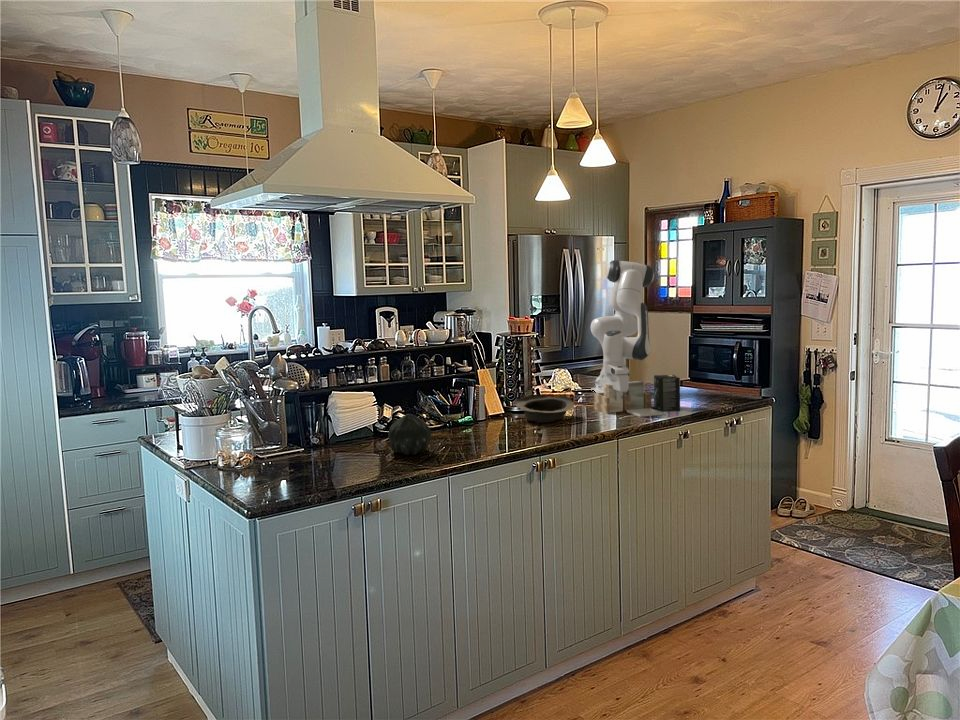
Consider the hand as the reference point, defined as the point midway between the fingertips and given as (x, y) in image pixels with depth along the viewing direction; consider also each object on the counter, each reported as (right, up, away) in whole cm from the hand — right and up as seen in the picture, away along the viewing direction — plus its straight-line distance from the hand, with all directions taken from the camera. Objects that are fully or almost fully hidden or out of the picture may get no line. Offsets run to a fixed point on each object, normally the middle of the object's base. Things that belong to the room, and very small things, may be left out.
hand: (613, 399), depth 318 cm
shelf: (+4, -5, +4) cm, 7 cm away
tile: (+12, -6, -7) cm, 15 cm away
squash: (-83, -16, -64) cm, 106 cm away
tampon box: (+24, -5, +2) cm, 24 cm away
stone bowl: (-31, -8, -13) cm, 35 cm away
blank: (0, -5, +1) cm, 5 cm away
